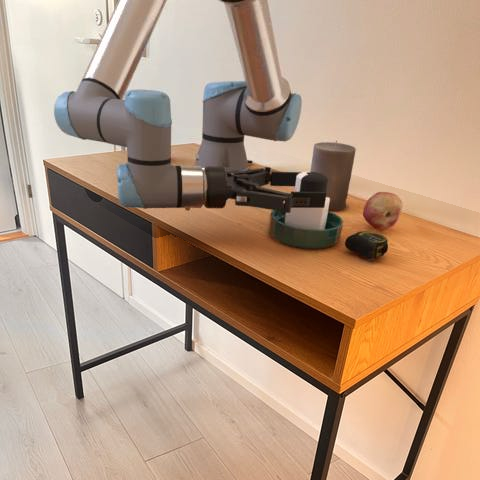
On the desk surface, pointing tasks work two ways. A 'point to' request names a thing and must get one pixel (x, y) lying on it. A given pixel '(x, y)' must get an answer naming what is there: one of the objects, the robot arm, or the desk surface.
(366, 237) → the tape measure
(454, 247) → the desk surface
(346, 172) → the pillar candle
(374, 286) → the desk surface
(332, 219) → the bowl
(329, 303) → the desk surface
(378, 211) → the fruit
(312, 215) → the medicine bottle
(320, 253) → the desk surface
